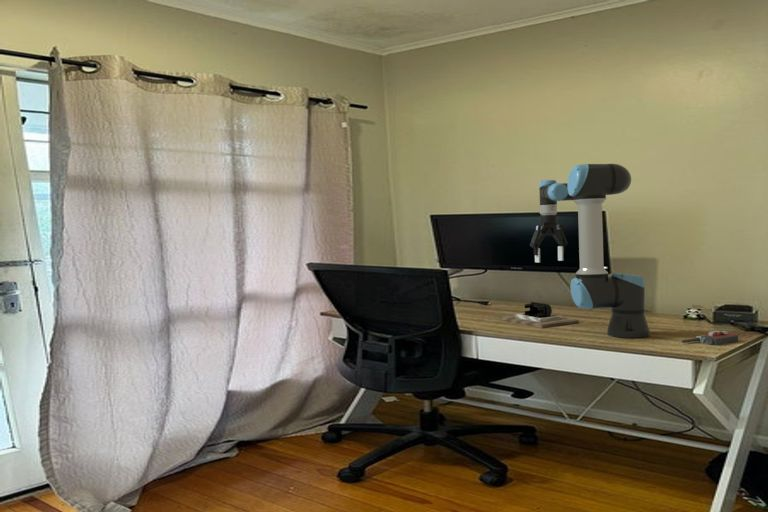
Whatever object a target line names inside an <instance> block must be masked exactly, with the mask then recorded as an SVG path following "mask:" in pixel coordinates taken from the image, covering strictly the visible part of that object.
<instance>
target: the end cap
mask: <svg viewBox="0 0 768 512" xmlns="http://www.w3.org/2000/svg"><path fill="white" fill-rule="evenodd" d="M524 309H529V310H525V311H524V313H525V315H526V316H531V317H537V318H545V317H550V315H551V314H553V313H552V311H553V309H552V307H551V305H550V304H547V303H543V302H535V301H530V303H526V304H525V303H524Z"/></svg>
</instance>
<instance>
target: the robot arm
mask: <svg viewBox="0 0 768 512" xmlns="http://www.w3.org/2000/svg"><path fill="white" fill-rule="evenodd" d="M568 174H569V175H568V178H567V182H566V183H565V182H563V183H561V182H557V180H555V179H546V180H540V181H539V188H538V189H539V214H540V216H539V223H540V225H535V226H534V232H533V234H532V237H531V240H530V243H529V247H530V248H532V249H533V256H534V263H541V248H540V246H541V243H543V241H544V239H545V237H546V236H552V237H553V239H554V240H555V242H556V243H557V244H558V246H557V261H559V262H560V261H561V262H562V261H564V254H565V247H566V246H567V245H568V241H567V237H566V236H565V233H564V230H563V225H562V224H557V223H558V215H557V214H558V202H560V201H562V202H565V201H573V202H574V203H575V204H576V205H577V214H578V215H577V216H578V223H577V224H578V248H579V249H578V253H579V256H578V257H579V269H578V270H577V271H576V272H575V277H573V278H572V279H571V281H570V284H569V285H570V289H569V290H570V294H571V298H572V300H573V301H572V302H573V303H574V304H575V306H576V307H577V308H579V309H583V310H585V309H586V310H587V309H588V310H592V309H611V315H610V319H609V323H608V326H607V327H606V333H607V335H608V336H610V337H616V338H624V339H630V338H631V339H637V338H638V339H640V338H647V337H649V336H650V334H651V329H650V326H649V325H648V321H647V319H646V315H645V314H646V313H645V309H646V307H645V301H646V299H645V296H646V295H645V293H646V292H645V289H646V286H645V279H644V277H643V276H642V275H637V274H632V273H621V272H612V273H611V274H610V276H609V272H608V271H607V270H606V269H605V267H604V233H603V230H604V229H603V203H604V202H605V201H606V200H607V196H609V195H610V196H611V195H618V194H621V193H624V192H626V191H627V190H628V189H629V187H630V186H631V183H632V176H631V173H630V171H629V170H628V169H627V168H626V167H625V166H623V165H621V164H619V163H585V164H578V165H575V166H573V167H572V168H571V170H570V172H569V173H568Z"/></svg>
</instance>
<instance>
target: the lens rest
mask: <svg viewBox="0 0 768 512" xmlns="http://www.w3.org/2000/svg"><path fill="white" fill-rule="evenodd" d="M499 320H500V321H506V322H510V323H514V324H515V323H516V324H521V325H524V326H530V327H535V328H540V329H546V328H552V327H560V326H561V327H562V326H567V325H574V324H579V323H580V321H579V319H574V318H568V317H563V315H559V314H553V313H551V315H550V317H545V318H537V317H531V316H526V315H525V312H522V313H515V314H511V315H503V316H499Z"/></svg>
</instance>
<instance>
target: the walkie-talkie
mask: <svg viewBox="0 0 768 512" xmlns="http://www.w3.org/2000/svg"><path fill="white" fill-rule="evenodd" d="M693 342H698V343H700V344H706V345H710V346H711V345H712V346H723V345H728V344H736V343H739V335H738V333H733V332H729V331H727V330H711V331H708V332H707V334H704V335H702V334H701V335H697V336H695V338H688V339H682V340H681V343H683V344H686V343H693Z"/></svg>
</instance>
